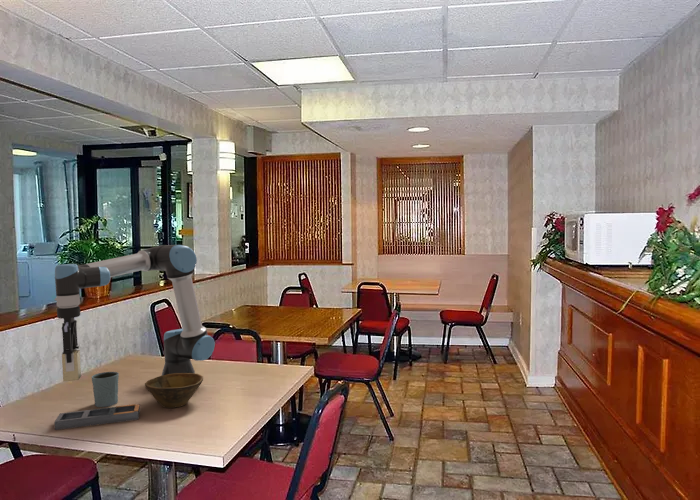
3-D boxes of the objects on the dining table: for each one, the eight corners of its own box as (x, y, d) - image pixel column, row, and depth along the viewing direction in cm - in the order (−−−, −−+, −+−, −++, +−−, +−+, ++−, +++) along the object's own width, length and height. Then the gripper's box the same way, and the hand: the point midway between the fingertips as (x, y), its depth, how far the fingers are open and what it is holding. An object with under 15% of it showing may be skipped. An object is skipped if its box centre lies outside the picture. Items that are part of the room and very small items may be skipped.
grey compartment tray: (140, 411, 208) (139, 403, 208) (138, 419, 199) (137, 411, 199) (60, 421, 200) (59, 412, 199) (54, 429, 191) (54, 421, 191)
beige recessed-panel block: (81, 376, 199) (79, 349, 199) (78, 380, 194) (76, 352, 194) (66, 377, 198) (64, 350, 197) (63, 381, 193) (61, 353, 192)
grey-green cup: (93, 409, 212) (91, 379, 211) (92, 402, 221) (91, 373, 220) (120, 404, 216) (119, 375, 216) (119, 397, 225) (117, 369, 225)
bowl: (186, 391, 232) (185, 368, 231) (213, 403, 216) (212, 379, 215) (136, 404, 217) (135, 380, 216) (162, 418, 200) (160, 392, 200)
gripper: (62, 303, 202) (65, 363, 203) (51, 311, 185) (54, 376, 186) (84, 302, 204) (87, 361, 206) (74, 309, 187) (78, 374, 188)
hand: (71, 368), depth 196 cm, fingers closed on beige recessed-panel block, 5 cm apart
